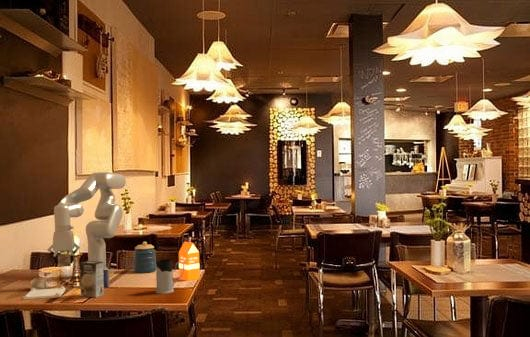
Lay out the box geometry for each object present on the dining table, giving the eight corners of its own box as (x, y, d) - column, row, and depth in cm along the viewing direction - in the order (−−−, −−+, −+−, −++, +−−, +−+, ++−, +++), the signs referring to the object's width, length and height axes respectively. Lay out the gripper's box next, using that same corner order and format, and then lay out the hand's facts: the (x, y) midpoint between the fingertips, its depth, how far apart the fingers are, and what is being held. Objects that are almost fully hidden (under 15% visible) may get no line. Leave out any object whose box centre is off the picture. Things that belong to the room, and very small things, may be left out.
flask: (110, 286, 274) (110, 265, 274) (106, 287, 271) (106, 266, 271) (96, 285, 277) (95, 264, 277) (92, 286, 275) (91, 265, 275)
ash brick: (46, 287, 275) (46, 277, 275) (43, 290, 268) (43, 280, 268) (34, 288, 274) (34, 278, 274) (30, 291, 266) (30, 281, 266)
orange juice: (187, 281, 282) (187, 243, 282) (178, 278, 289) (178, 242, 289) (200, 278, 287) (199, 241, 287) (191, 276, 294) (190, 240, 294)
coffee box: (79, 296, 252) (79, 262, 252) (88, 293, 258) (87, 260, 258) (96, 297, 249) (95, 263, 249) (104, 294, 255) (103, 261, 255)
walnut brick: (70, 263, 279) (70, 253, 279) (70, 266, 272) (70, 256, 272) (58, 264, 277) (57, 254, 277) (58, 267, 270) (57, 257, 270)
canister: (138, 269, 321) (138, 240, 321) (159, 269, 319) (158, 239, 319) (130, 273, 308) (129, 243, 308) (151, 273, 306) (151, 242, 306)
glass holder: (154, 290, 261) (153, 260, 261) (182, 287, 267) (181, 257, 267) (157, 294, 253) (157, 262, 253) (187, 291, 259) (186, 260, 259)
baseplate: (65, 290, 267) (65, 286, 267) (59, 297, 251) (59, 293, 251) (31, 292, 264) (31, 288, 264) (23, 299, 248) (23, 295, 248)
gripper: (81, 226, 279) (83, 260, 280) (46, 229, 276) (48, 263, 276) (79, 228, 272) (80, 263, 272) (43, 231, 269) (45, 266, 269)
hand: (64, 263), depth 274 cm, fingers closed on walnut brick, 6 cm apart
